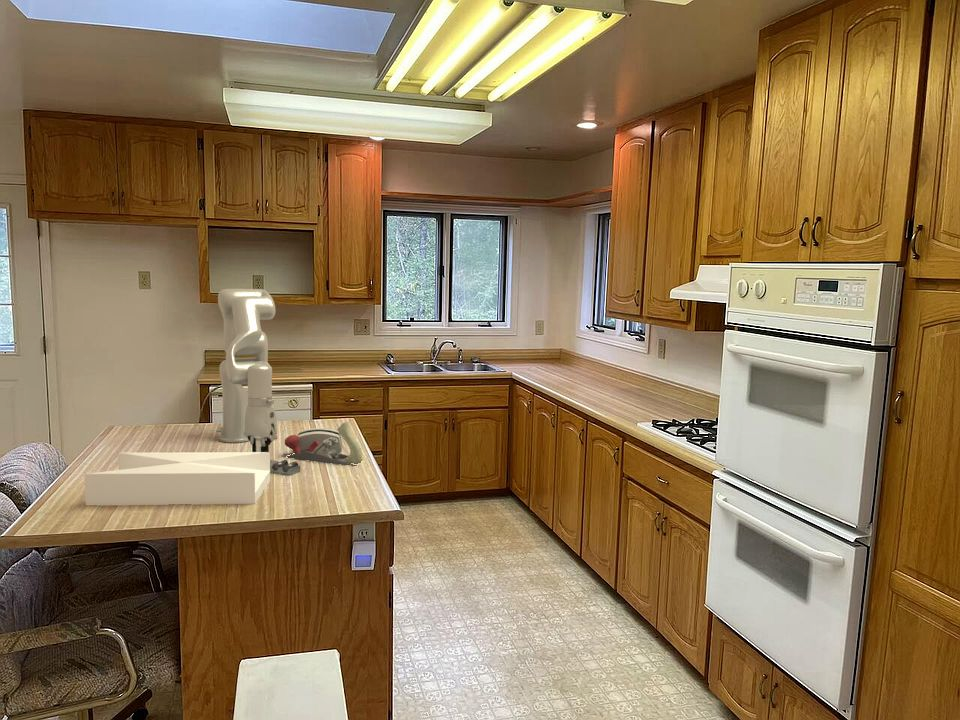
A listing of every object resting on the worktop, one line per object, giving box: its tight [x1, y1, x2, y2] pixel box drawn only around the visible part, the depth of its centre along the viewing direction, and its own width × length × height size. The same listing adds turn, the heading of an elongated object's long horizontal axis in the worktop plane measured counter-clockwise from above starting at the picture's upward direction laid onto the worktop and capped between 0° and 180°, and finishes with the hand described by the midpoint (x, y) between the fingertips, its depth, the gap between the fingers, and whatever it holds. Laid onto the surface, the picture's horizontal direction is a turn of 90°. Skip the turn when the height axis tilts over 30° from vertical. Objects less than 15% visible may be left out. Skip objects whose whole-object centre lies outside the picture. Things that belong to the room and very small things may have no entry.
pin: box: [254, 436, 262, 452], centre depth 224 cm, size 4×4×11 cm
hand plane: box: [283, 420, 363, 467], centre depth 237 cm, size 7×31×15 cm, turn 72°
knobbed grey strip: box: [270, 459, 301, 476], centre depth 226 cm, size 32×7×3 cm, turn 68°
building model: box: [83, 451, 271, 506], centre depth 198 cm, size 45×22×10 cm, turn 97°
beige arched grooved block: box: [297, 427, 343, 453], centre depth 248 cm, size 17×5×10 cm, turn 98°
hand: (260, 456), depth 225 cm, fingers closed on pin, 2 cm apart
